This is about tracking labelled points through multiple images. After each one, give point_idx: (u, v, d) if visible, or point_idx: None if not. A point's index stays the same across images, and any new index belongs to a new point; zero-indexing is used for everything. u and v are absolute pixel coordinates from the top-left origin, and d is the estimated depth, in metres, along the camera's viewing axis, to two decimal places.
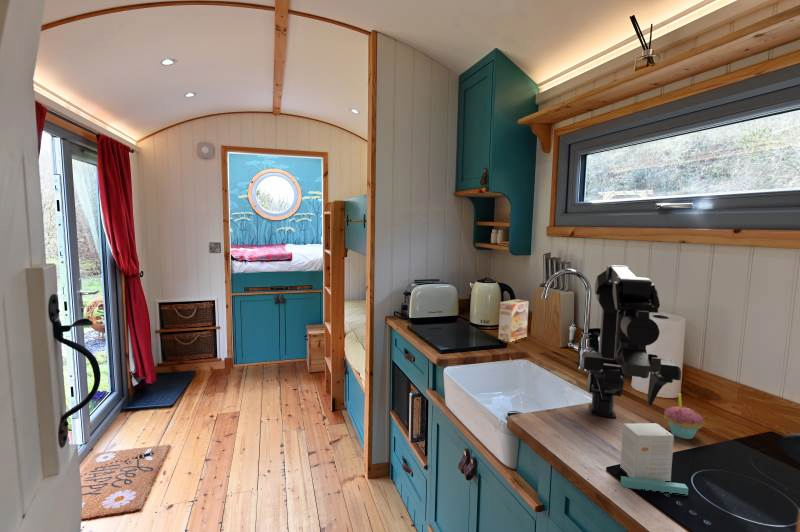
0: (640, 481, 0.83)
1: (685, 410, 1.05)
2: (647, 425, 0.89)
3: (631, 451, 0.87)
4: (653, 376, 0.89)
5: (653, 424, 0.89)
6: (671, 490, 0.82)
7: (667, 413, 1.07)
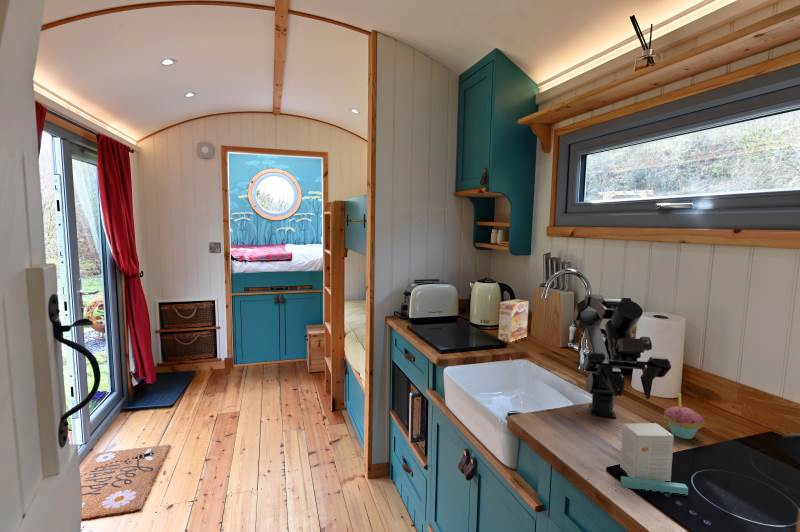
0: (640, 481, 0.83)
1: (685, 410, 1.05)
2: (647, 425, 0.89)
3: (630, 451, 0.87)
4: (644, 373, 1.00)
5: (653, 424, 0.89)
6: (671, 490, 0.82)
7: (667, 413, 1.07)
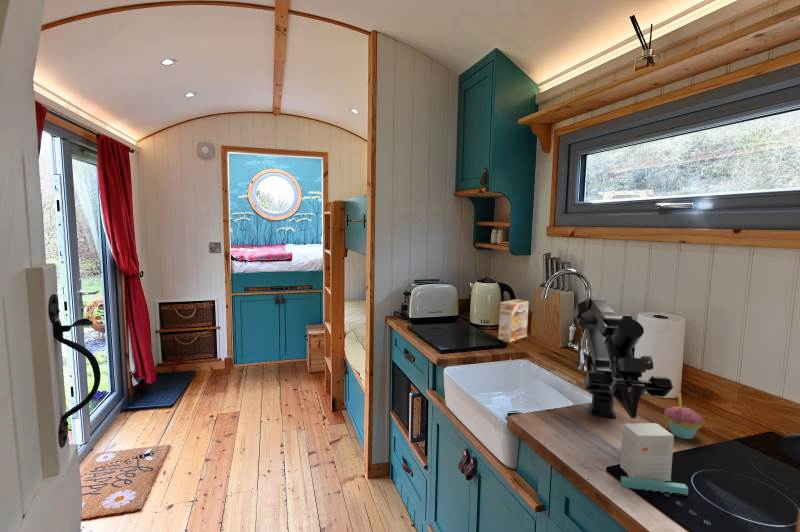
0: (640, 481, 0.83)
1: (685, 410, 1.05)
2: (647, 425, 0.89)
3: (631, 451, 0.87)
4: (630, 392, 0.99)
5: (653, 424, 0.89)
6: (671, 490, 0.82)
7: (667, 413, 1.07)
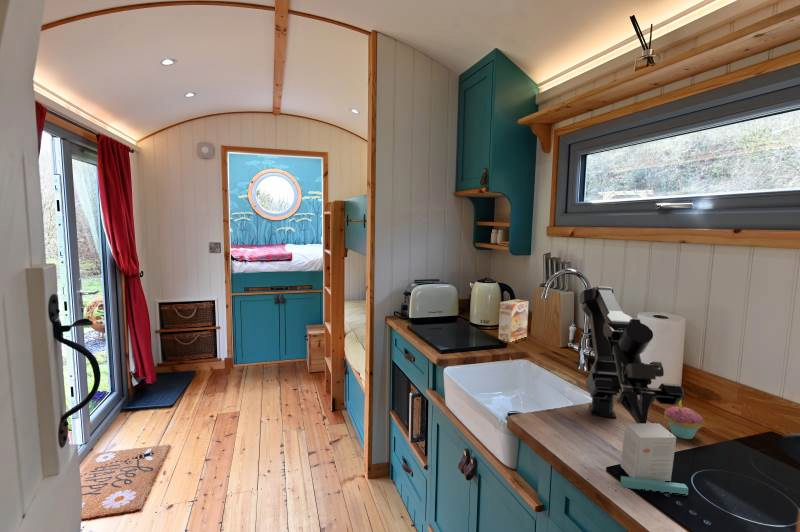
0: (640, 481, 0.83)
1: (685, 410, 1.05)
2: (649, 425, 0.88)
3: (632, 451, 0.86)
4: (639, 400, 0.94)
5: (655, 424, 0.89)
6: (671, 490, 0.82)
7: (667, 413, 1.07)
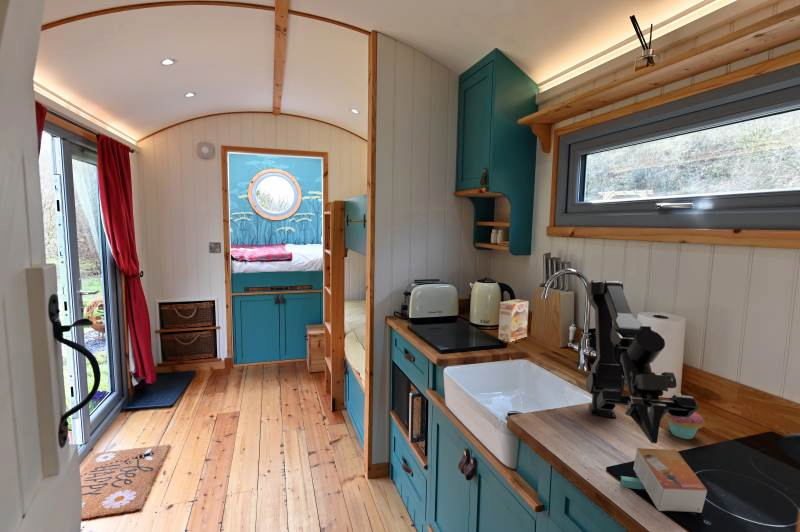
0: (640, 481, 0.83)
1: None
2: (690, 495, 0.75)
3: (648, 484, 0.80)
4: (650, 412, 0.88)
5: (700, 493, 0.75)
6: None
7: (667, 413, 1.07)
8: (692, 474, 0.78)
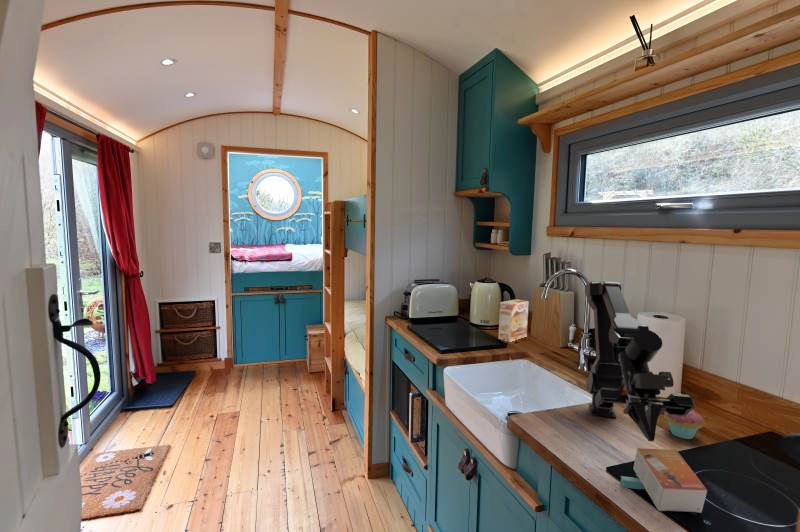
0: (640, 481, 0.83)
1: None
2: (690, 495, 0.75)
3: (648, 484, 0.80)
4: (647, 411, 0.90)
5: (700, 493, 0.75)
6: None
7: (667, 413, 1.07)
8: (692, 474, 0.78)
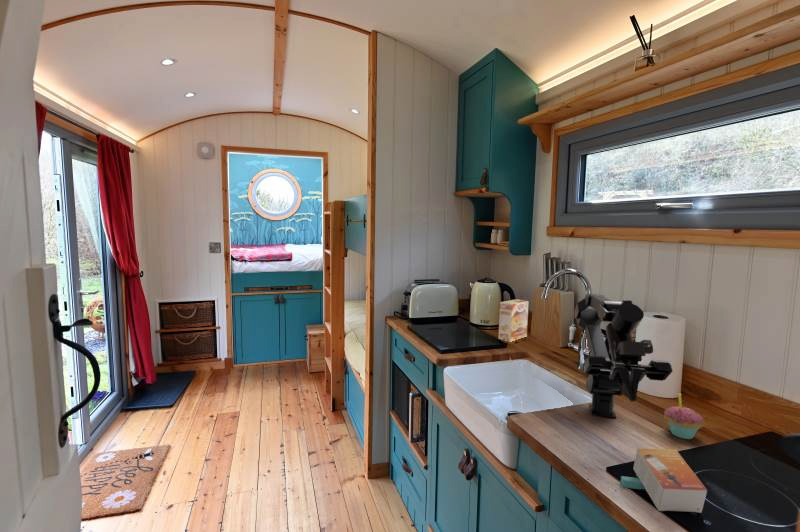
0: (640, 481, 0.83)
1: (685, 410, 1.05)
2: (690, 495, 0.75)
3: (648, 484, 0.80)
4: (630, 376, 1.00)
5: (700, 493, 0.75)
6: None
7: (667, 413, 1.07)
8: (692, 474, 0.78)
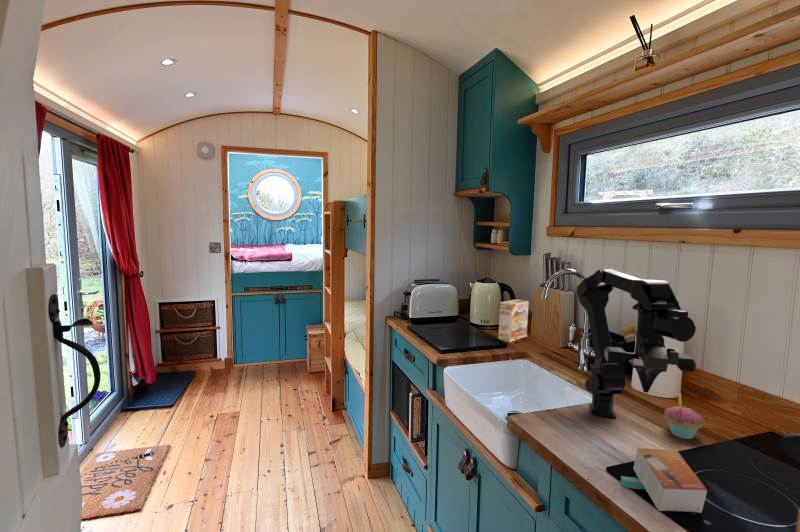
0: (640, 481, 0.83)
1: (685, 410, 1.05)
2: (690, 495, 0.75)
3: (648, 484, 0.80)
4: None
5: (700, 493, 0.75)
6: None
7: (667, 413, 1.07)
8: (692, 474, 0.78)
